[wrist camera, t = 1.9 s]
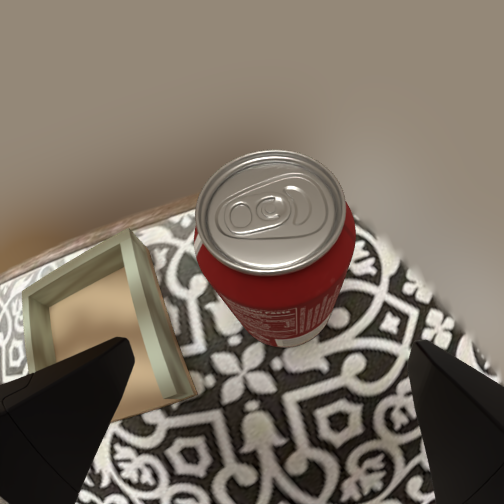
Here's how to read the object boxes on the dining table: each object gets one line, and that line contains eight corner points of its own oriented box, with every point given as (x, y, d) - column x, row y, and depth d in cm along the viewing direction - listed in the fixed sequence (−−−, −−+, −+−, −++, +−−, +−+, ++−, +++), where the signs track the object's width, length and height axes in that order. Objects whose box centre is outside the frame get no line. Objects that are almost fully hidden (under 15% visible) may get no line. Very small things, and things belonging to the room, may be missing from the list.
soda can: (342, 336, 19) (392, 264, 9) (246, 357, 19) (184, 311, 9) (318, 252, 22) (327, 128, 12) (232, 271, 23) (177, 160, 12)
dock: (197, 394, 19) (177, 393, 15) (71, 432, 18) (41, 432, 14) (149, 250, 25) (128, 227, 21) (47, 304, 24) (22, 291, 21)
